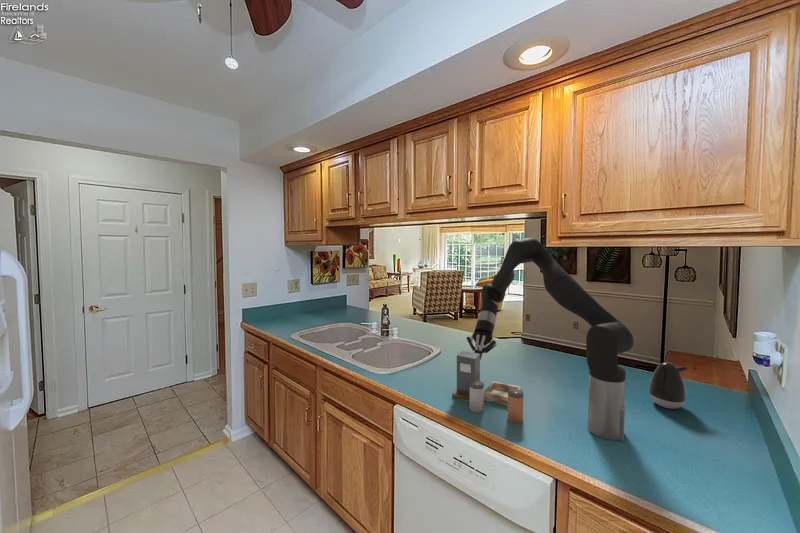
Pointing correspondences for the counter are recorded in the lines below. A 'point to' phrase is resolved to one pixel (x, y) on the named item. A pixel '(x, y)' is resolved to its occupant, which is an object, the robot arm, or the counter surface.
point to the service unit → (466, 373)
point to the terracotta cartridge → (515, 405)
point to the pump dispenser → (668, 386)
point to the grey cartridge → (476, 396)
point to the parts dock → (498, 392)
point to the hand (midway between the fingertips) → (476, 360)
